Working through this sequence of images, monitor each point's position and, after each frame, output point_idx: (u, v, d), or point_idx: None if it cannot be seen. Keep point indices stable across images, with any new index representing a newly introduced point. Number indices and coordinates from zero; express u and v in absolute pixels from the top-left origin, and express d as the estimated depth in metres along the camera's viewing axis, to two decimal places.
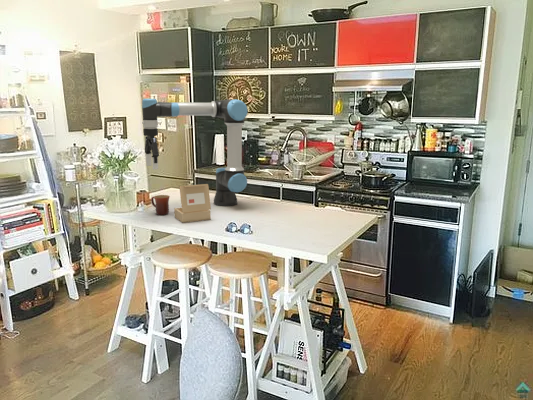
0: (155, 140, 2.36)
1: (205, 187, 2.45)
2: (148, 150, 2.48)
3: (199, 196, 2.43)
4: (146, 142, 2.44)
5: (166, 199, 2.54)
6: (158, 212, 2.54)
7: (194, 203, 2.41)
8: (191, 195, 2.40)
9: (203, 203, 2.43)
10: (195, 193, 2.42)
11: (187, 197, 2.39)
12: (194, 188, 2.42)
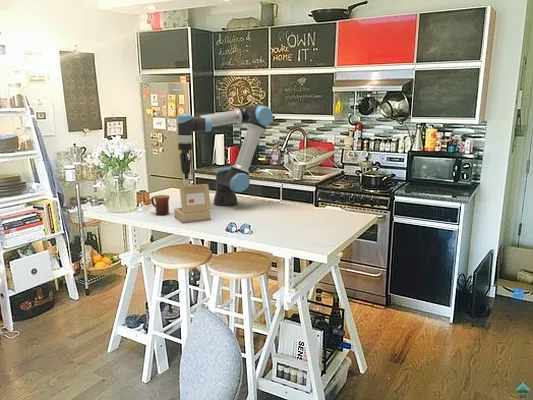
0: (189, 159, 2.45)
1: (205, 187, 2.45)
2: None
3: (199, 196, 2.43)
4: (181, 158, 2.51)
5: (166, 199, 2.54)
6: (158, 212, 2.54)
7: (194, 203, 2.41)
8: (191, 195, 2.40)
9: (203, 203, 2.43)
10: (195, 193, 2.42)
11: (187, 197, 2.39)
12: (194, 188, 2.42)
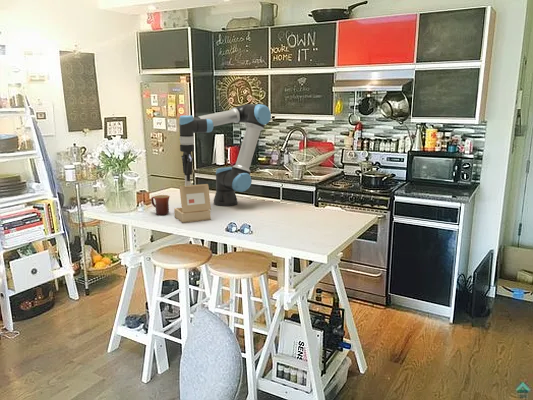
0: (191, 160, 2.43)
1: (205, 187, 2.45)
2: None
3: (199, 196, 2.43)
4: (183, 159, 2.48)
5: (166, 199, 2.54)
6: (158, 212, 2.54)
7: (194, 203, 2.41)
8: (191, 195, 2.40)
9: (203, 203, 2.43)
10: (195, 193, 2.42)
11: (187, 197, 2.39)
12: (194, 188, 2.42)
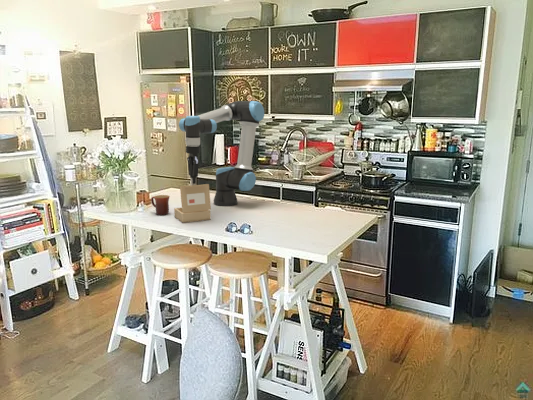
0: (197, 162, 2.34)
1: (206, 187, 2.44)
2: None
3: (199, 196, 2.42)
4: (189, 161, 2.40)
5: (166, 199, 2.54)
6: (158, 212, 2.54)
7: (194, 203, 2.41)
8: (191, 195, 2.40)
9: (203, 203, 2.43)
10: (195, 193, 2.41)
11: (187, 198, 2.39)
12: (195, 188, 2.41)
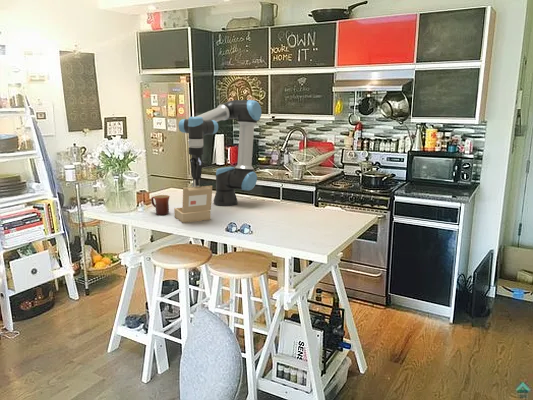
0: (201, 164, 2.31)
1: (209, 189, 2.40)
2: None
3: (201, 198, 2.40)
4: (191, 163, 2.36)
5: (166, 199, 2.54)
6: (158, 212, 2.54)
7: (195, 204, 2.40)
8: (193, 197, 2.37)
9: (204, 204, 2.42)
10: (198, 195, 2.38)
11: (189, 199, 2.37)
12: (197, 190, 2.37)
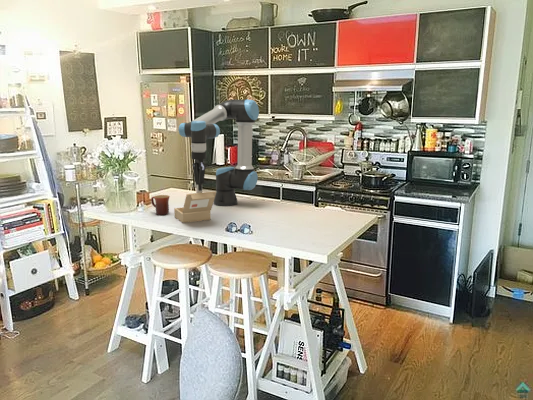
0: (204, 169, 2.27)
1: None
2: None
3: (203, 201, 2.38)
4: (194, 167, 2.33)
5: (166, 199, 2.54)
6: (158, 212, 2.54)
7: (196, 206, 2.38)
8: (195, 201, 2.35)
9: (205, 206, 2.41)
10: (200, 199, 2.36)
11: (191, 203, 2.35)
12: None
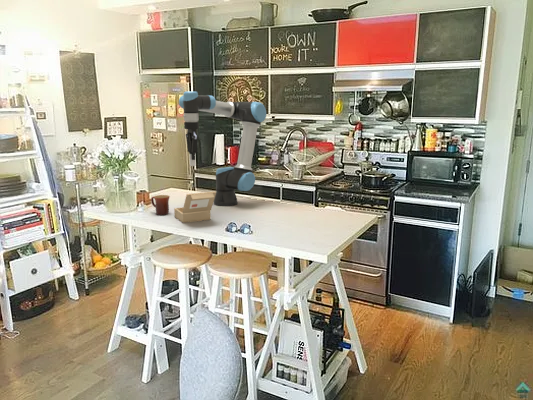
0: (196, 138, 2.34)
1: None
2: None
3: (203, 202, 2.38)
4: (187, 137, 2.39)
5: (166, 199, 2.54)
6: (158, 212, 2.54)
7: (196, 206, 2.38)
8: (195, 201, 2.35)
9: (205, 206, 2.41)
10: (200, 199, 2.36)
11: (191, 203, 2.35)
12: None
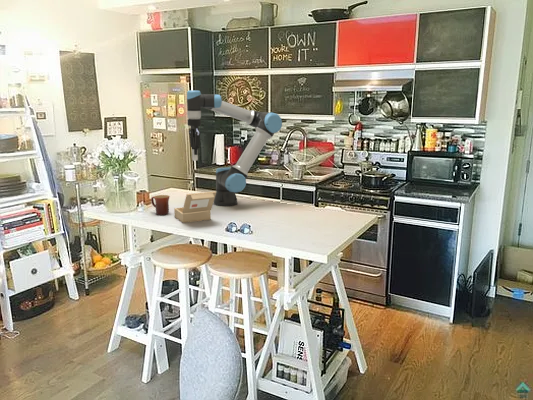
0: (199, 134, 2.49)
1: None
2: None
3: (203, 202, 2.38)
4: (190, 134, 2.55)
5: (166, 199, 2.54)
6: (158, 212, 2.54)
7: (196, 206, 2.38)
8: (195, 201, 2.35)
9: (205, 206, 2.41)
10: (200, 199, 2.36)
11: (191, 203, 2.35)
12: None
